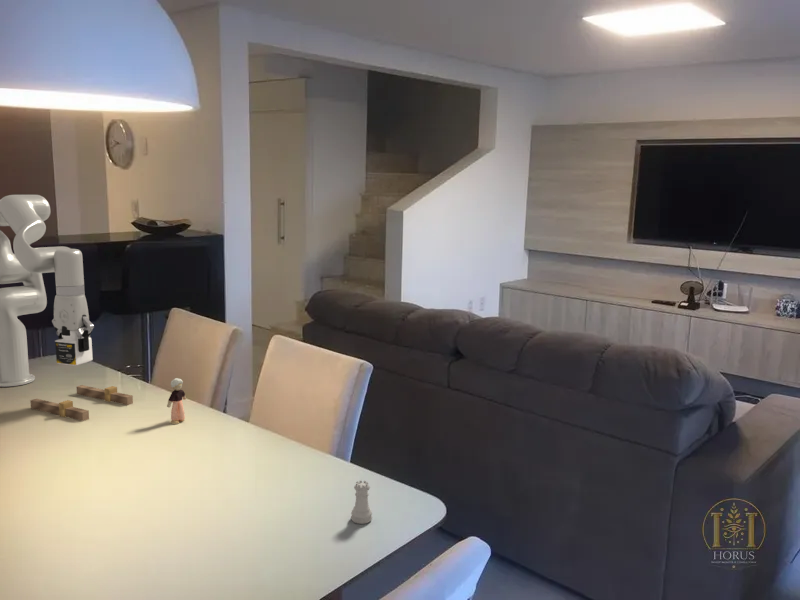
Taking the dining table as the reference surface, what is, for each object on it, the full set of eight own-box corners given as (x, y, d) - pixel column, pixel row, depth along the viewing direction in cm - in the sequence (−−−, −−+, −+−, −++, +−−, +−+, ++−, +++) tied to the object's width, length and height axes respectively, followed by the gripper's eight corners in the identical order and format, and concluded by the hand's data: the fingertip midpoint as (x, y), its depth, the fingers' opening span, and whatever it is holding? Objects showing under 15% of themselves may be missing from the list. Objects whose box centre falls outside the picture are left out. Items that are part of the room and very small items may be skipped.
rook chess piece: (360, 512, 145) (361, 476, 144) (376, 519, 142) (377, 482, 141) (346, 519, 142) (346, 483, 140) (362, 527, 139) (362, 489, 137)
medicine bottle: (56, 363, 204) (53, 324, 202) (73, 358, 210) (71, 319, 209) (75, 366, 202) (73, 326, 200) (93, 360, 208) (91, 321, 206)
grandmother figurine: (178, 426, 192) (176, 382, 190) (165, 425, 193) (163, 381, 191) (190, 417, 200) (189, 374, 198) (178, 416, 201) (177, 374, 198)
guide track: (29, 408, 204) (28, 395, 203) (83, 392, 221) (82, 380, 220) (81, 421, 194) (80, 407, 194) (134, 403, 211) (133, 390, 211)
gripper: (39, 290, 203) (43, 348, 206) (80, 295, 195) (84, 355, 198) (61, 287, 210) (65, 343, 213) (102, 291, 202) (105, 350, 205)
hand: (74, 349), depth 205 cm, fingers closed on medicine bottle, 7 cm apart
